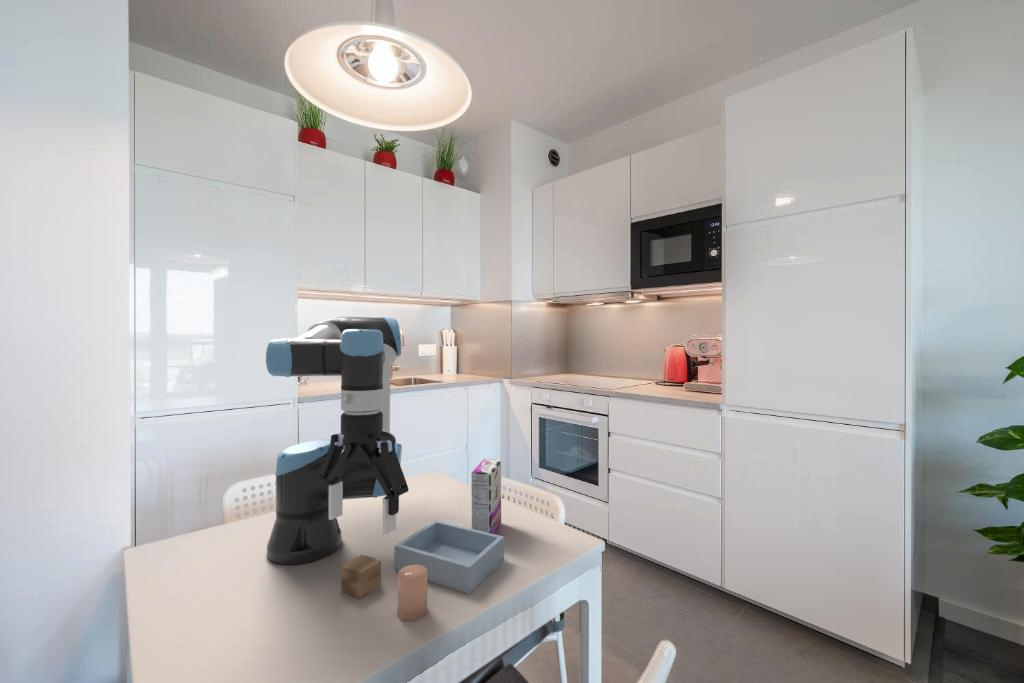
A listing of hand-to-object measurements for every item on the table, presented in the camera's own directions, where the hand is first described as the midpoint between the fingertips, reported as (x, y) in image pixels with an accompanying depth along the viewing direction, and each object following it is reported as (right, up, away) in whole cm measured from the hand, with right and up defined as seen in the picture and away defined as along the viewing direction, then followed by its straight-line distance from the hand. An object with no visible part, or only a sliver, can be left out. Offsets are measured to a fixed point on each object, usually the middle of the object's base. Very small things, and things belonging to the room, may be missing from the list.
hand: (361, 524), depth 83 cm
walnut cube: (0, -13, 0) cm, 13 cm away
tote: (+15, -12, +9) cm, 22 cm away
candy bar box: (+22, -13, +25) cm, 36 cm away
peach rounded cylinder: (+11, -13, -6) cm, 18 cm away
